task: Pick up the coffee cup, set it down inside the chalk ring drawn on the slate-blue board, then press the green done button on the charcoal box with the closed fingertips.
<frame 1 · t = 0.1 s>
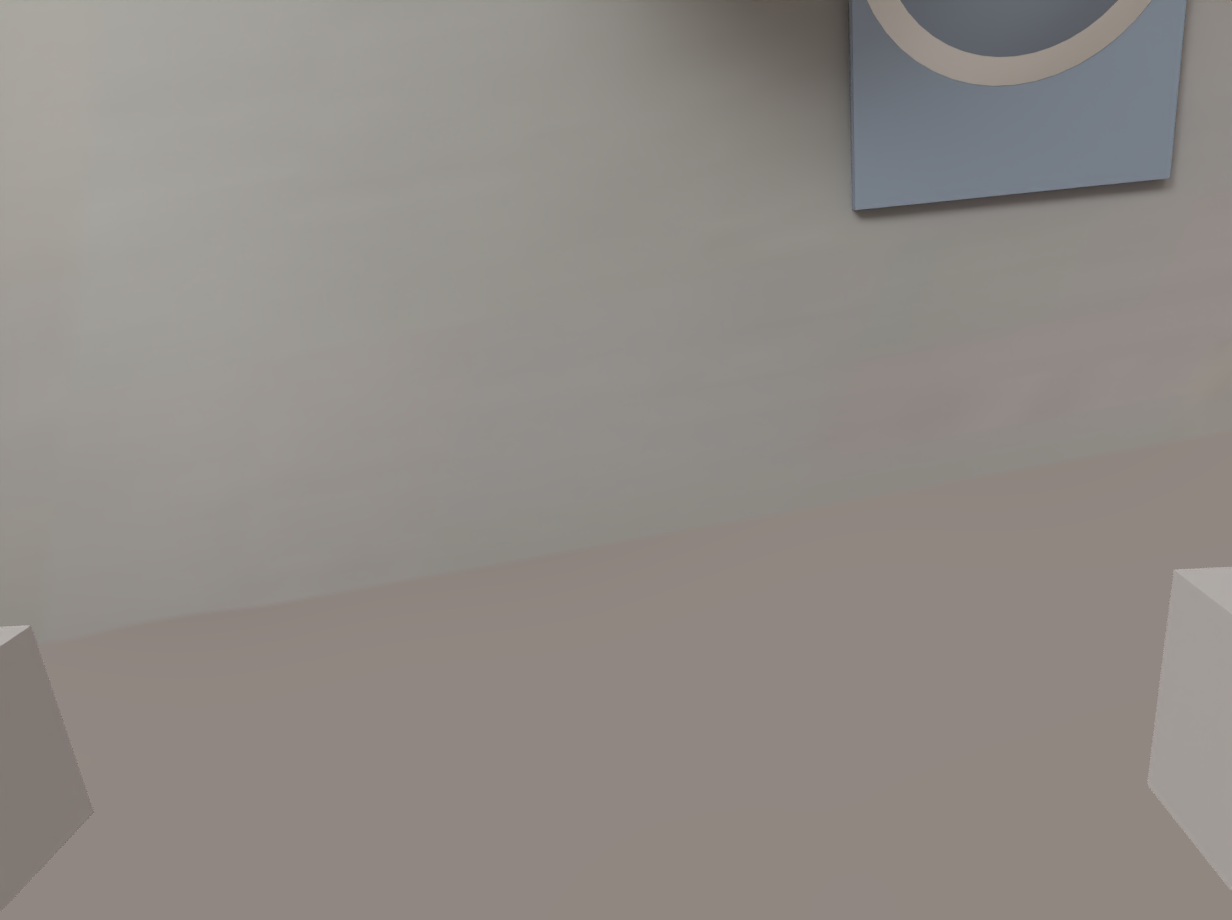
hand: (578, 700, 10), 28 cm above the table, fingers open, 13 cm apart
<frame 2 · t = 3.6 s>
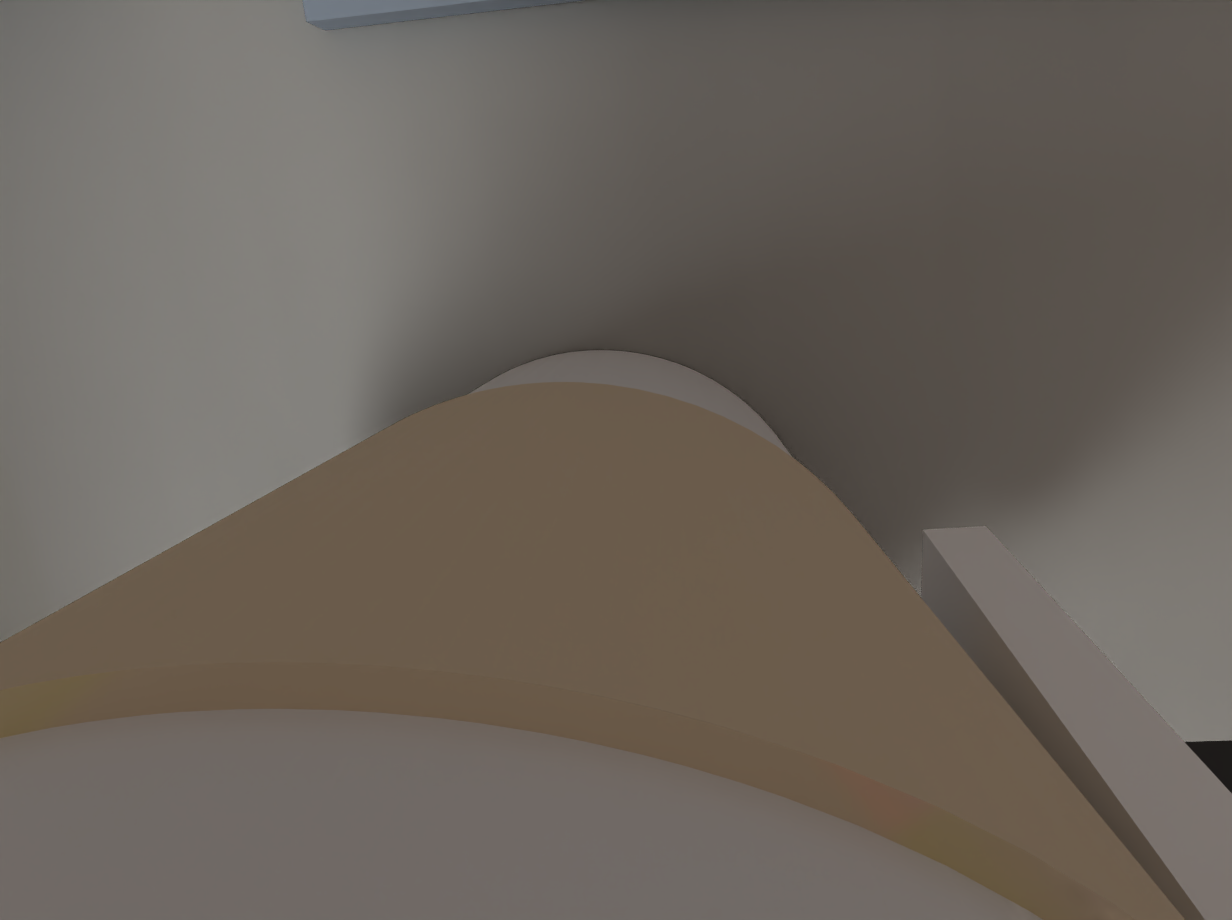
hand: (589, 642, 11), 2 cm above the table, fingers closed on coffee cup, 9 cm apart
coffee cup: (605, 559, 14), on the table, touching gripper
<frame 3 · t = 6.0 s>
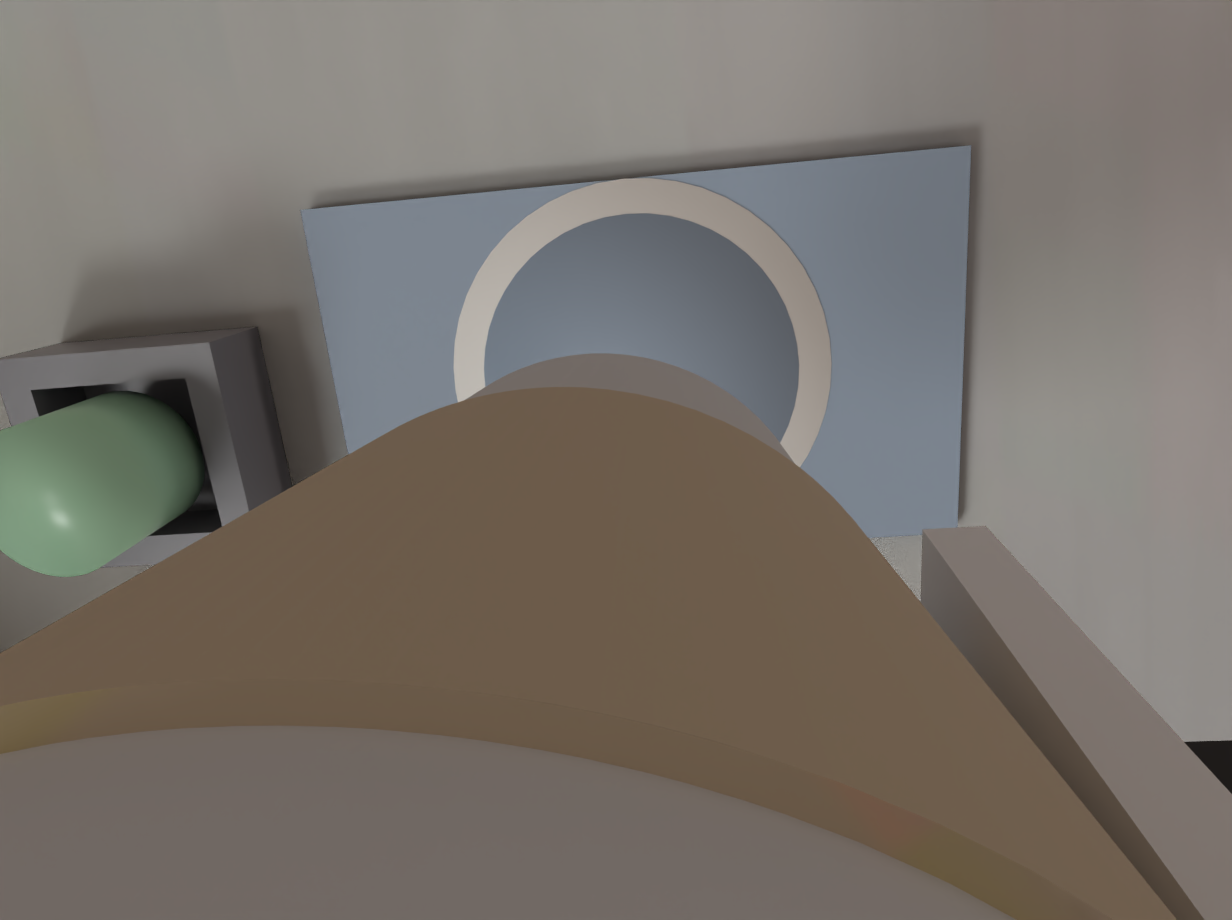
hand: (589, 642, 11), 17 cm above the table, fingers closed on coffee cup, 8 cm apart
coffee cup: (605, 562, 13), point 14 cm above the table, touching gripper
done button: (95, 479, 25), point 5 cm above the table, slide at 0.0 cm
slate board: (640, 372, 27), on the table
button housing: (182, 435, 29), on the table
when the fingers open (5 cm above the table, at t = 8.6 s): coffee cup drops 2 cm, resting on slate board.
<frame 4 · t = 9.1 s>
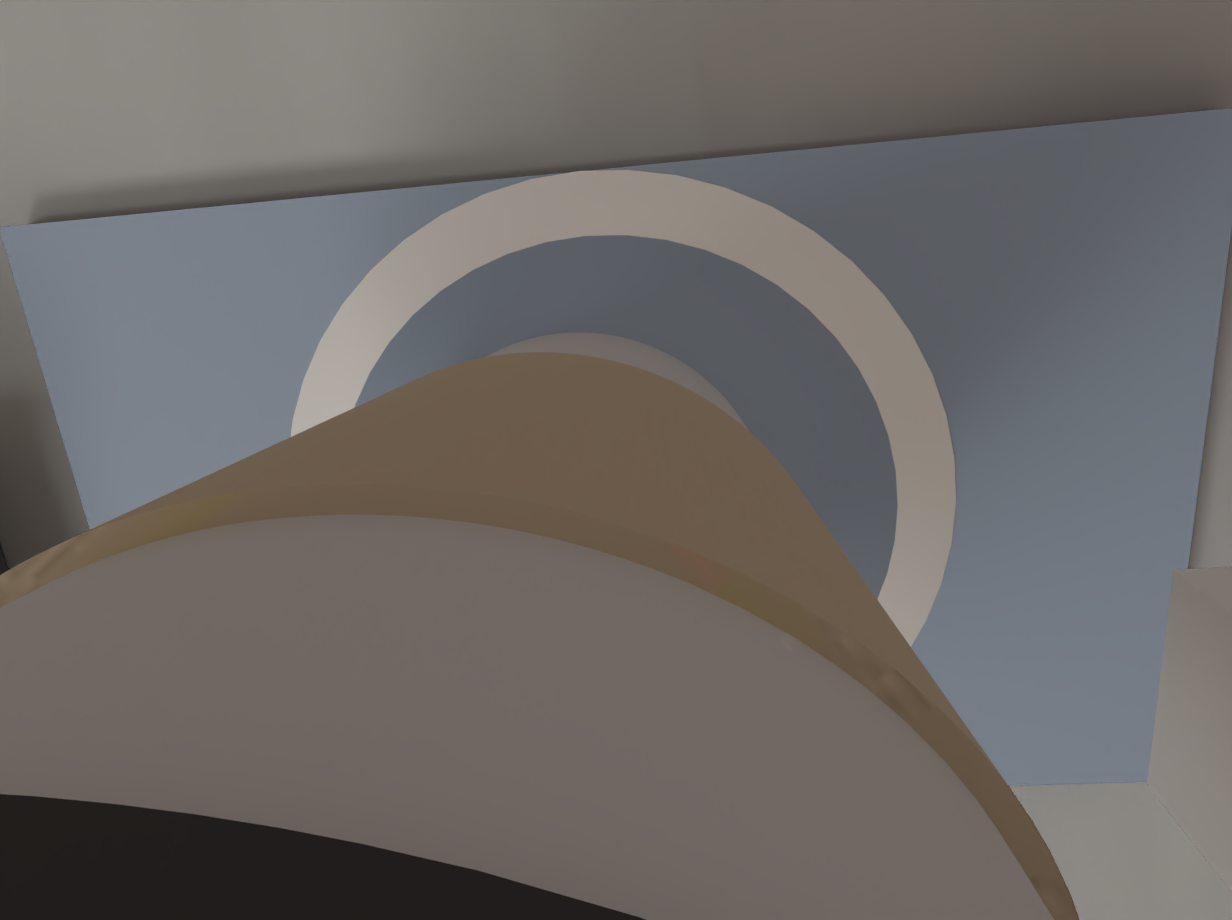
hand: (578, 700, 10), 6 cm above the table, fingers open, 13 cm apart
coffee cup: (584, 519, 15), resting on slate board
slate board: (615, 508, 16), on the table
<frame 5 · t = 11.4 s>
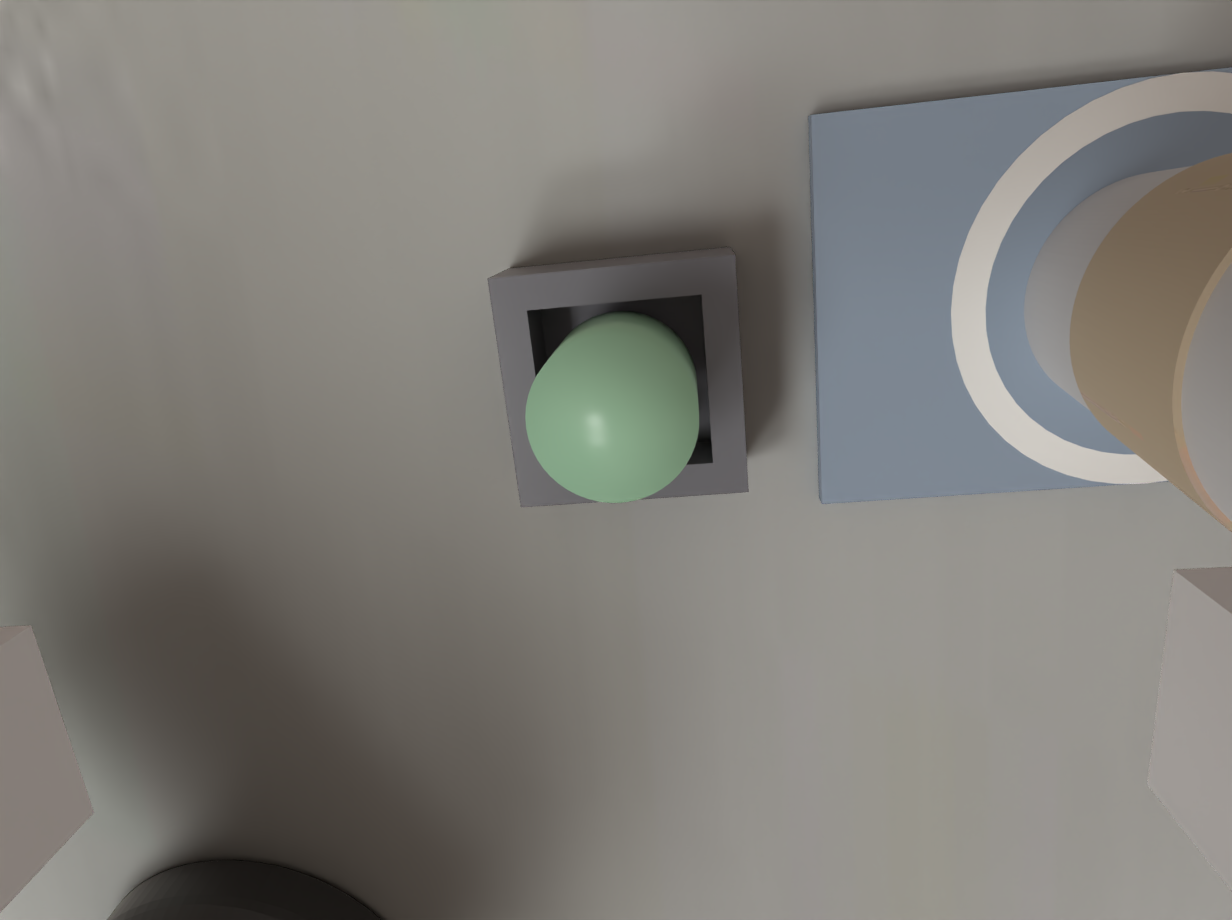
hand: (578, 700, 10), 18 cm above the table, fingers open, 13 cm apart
coffee cup: (1139, 293, 25), resting on slate board
done button: (617, 401, 23), point 5 cm above the table, slide at 0.0 cm
slate board: (1149, 290, 25), on the table
button housing: (628, 367, 27), on the table
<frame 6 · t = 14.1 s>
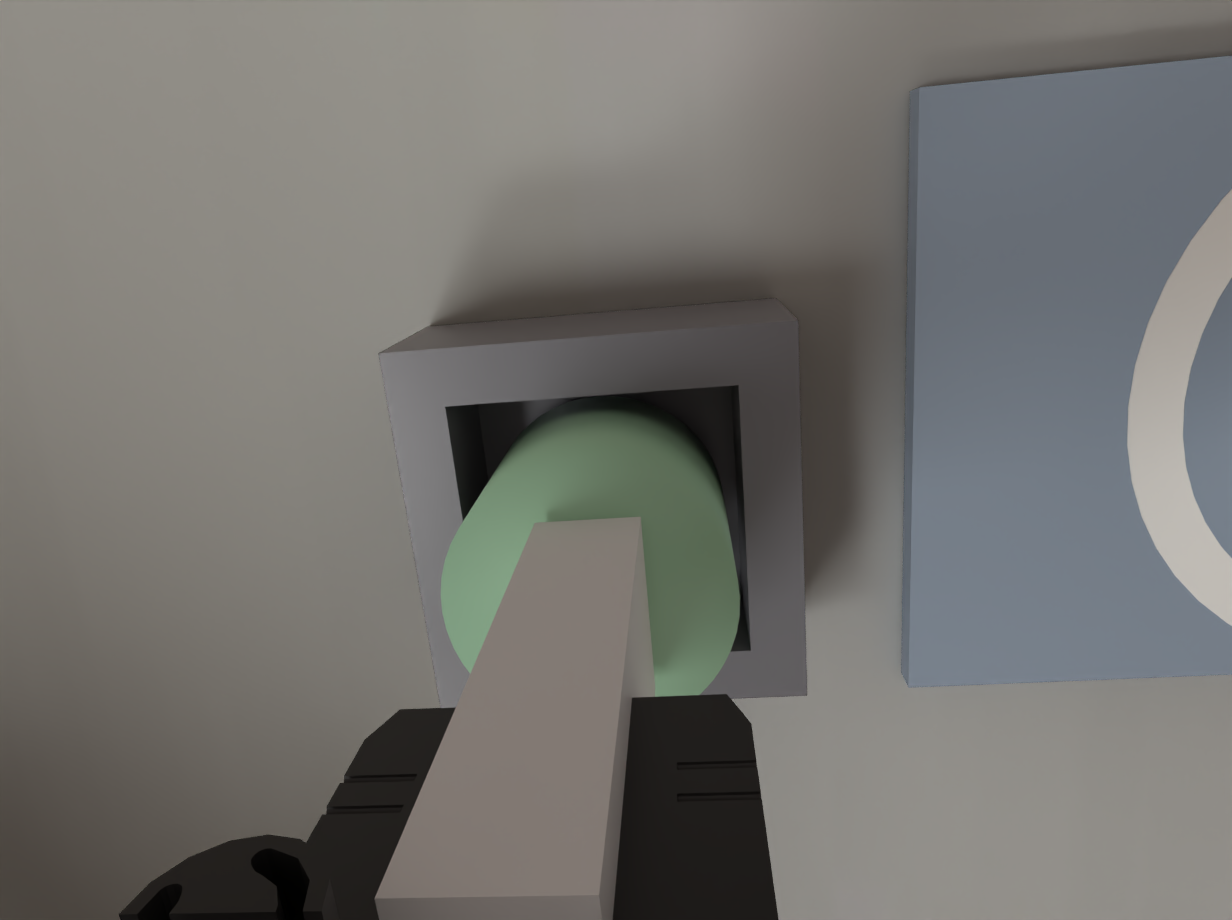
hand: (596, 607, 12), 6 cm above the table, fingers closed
done button: (600, 549, 14), point 4 cm above the table, slide at 0.9 cm, touching gripper
button housing: (614, 478, 18), on the table
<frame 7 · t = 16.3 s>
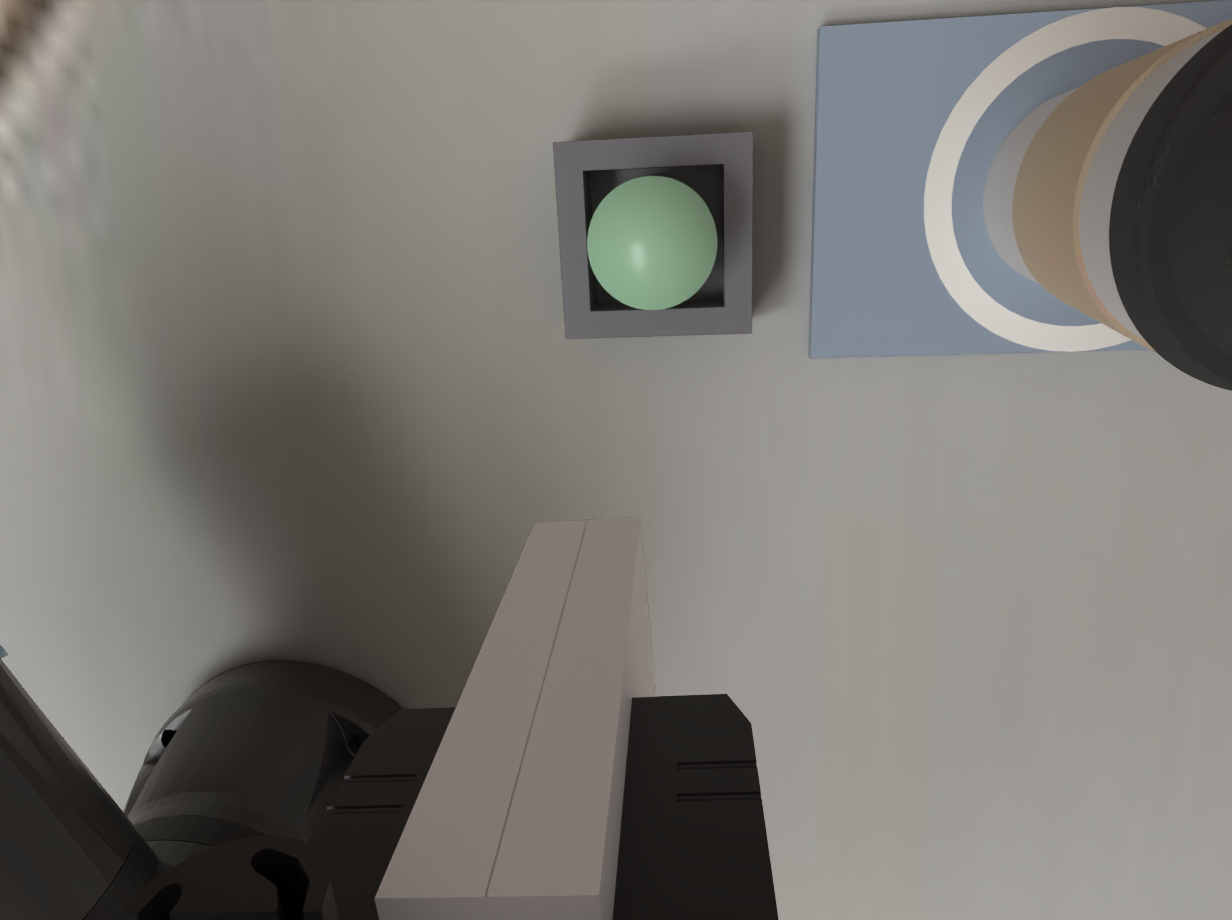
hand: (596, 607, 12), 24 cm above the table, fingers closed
coffee cup: (1076, 190, 31), point 1 cm above the table, touching slate board
done button: (654, 240, 30), point 3 cm above the table, slide at 1.4 cm
slate board: (1085, 189, 31), on the table
button housing: (658, 235, 33), on the table
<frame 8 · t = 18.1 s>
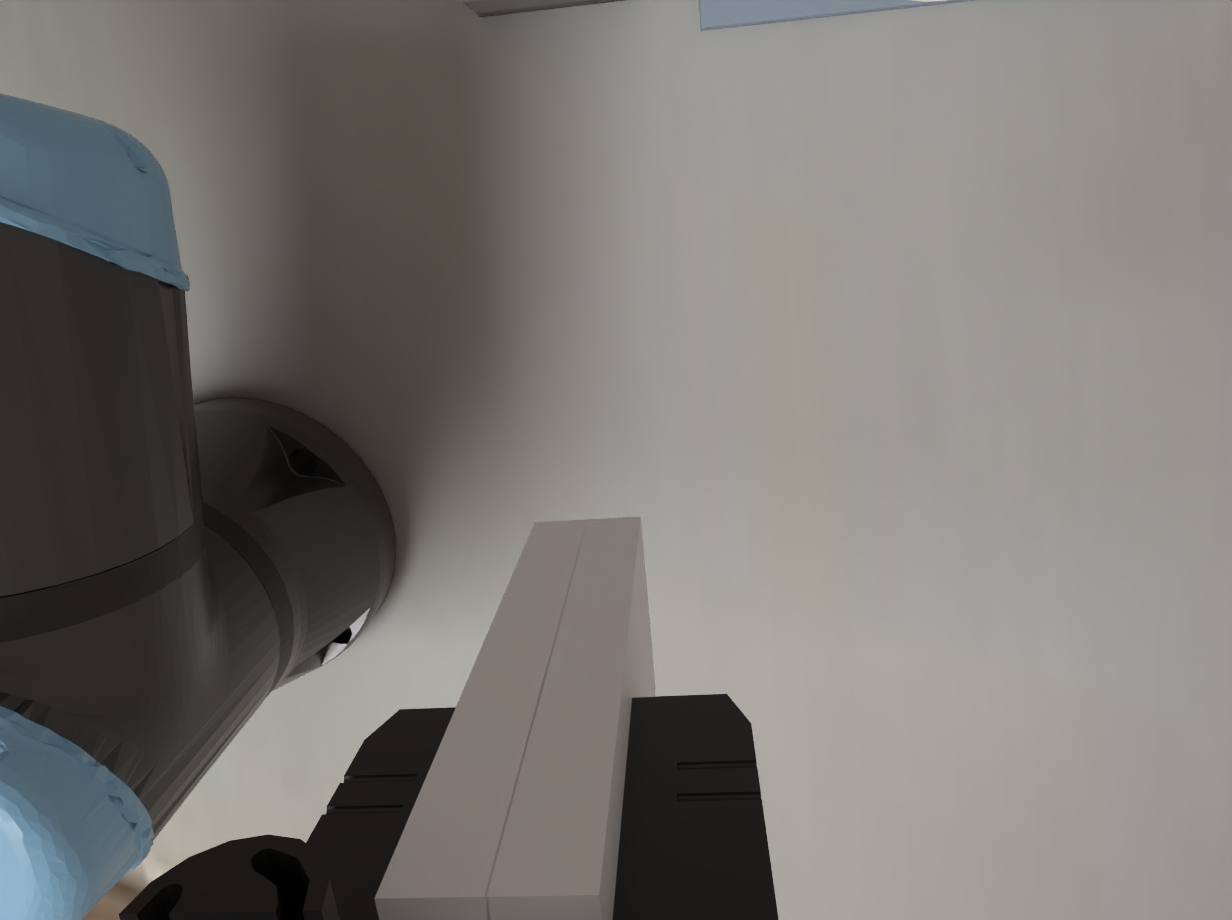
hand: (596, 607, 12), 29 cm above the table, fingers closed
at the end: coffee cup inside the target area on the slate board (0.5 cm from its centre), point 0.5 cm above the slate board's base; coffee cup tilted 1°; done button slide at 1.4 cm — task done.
